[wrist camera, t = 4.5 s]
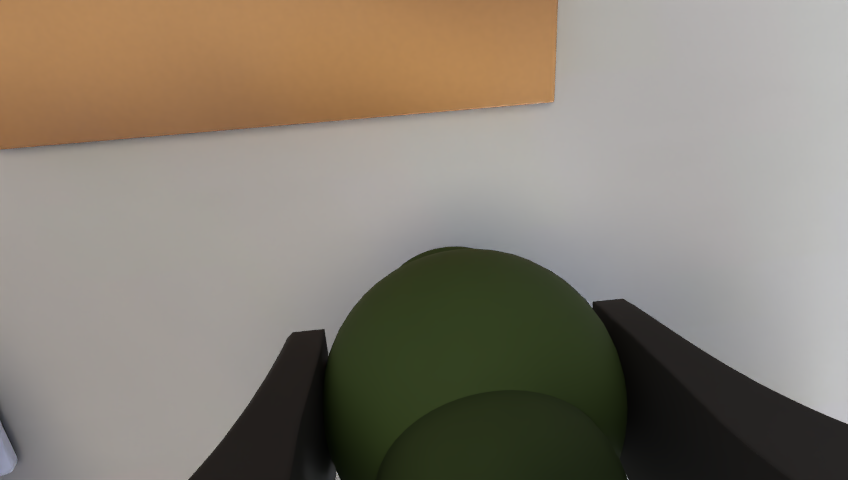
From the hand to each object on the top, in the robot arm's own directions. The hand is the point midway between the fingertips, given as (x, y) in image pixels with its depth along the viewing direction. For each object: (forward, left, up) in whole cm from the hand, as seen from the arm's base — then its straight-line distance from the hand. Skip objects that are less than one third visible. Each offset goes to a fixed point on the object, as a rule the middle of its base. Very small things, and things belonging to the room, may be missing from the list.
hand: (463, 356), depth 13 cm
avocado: (0, 0, -2) cm, 2 cm away
